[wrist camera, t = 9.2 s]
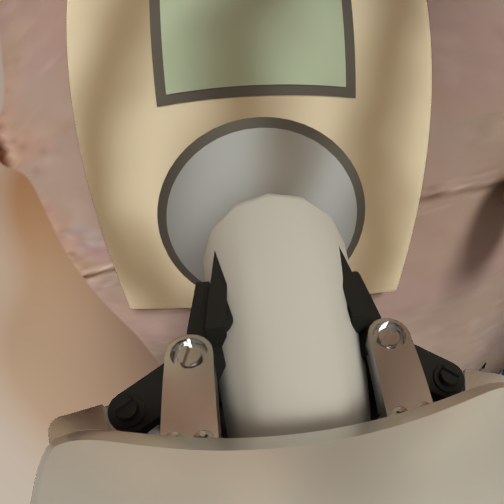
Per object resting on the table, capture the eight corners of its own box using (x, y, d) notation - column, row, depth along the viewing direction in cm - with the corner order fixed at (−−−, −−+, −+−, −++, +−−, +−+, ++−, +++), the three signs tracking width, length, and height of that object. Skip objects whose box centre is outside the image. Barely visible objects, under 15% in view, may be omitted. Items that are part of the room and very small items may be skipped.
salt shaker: (345, 248, 14) (446, 510, 3) (252, 296, 16) (265, 550, 5) (292, 151, 11) (471, 552, 1) (184, 218, 13) (107, 551, 2)
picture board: (406, -41, 6) (417, -46, 5) (389, 279, 19) (396, 291, 17) (80, -29, 6) (69, -34, 5) (135, 296, 19) (130, 309, 17)
